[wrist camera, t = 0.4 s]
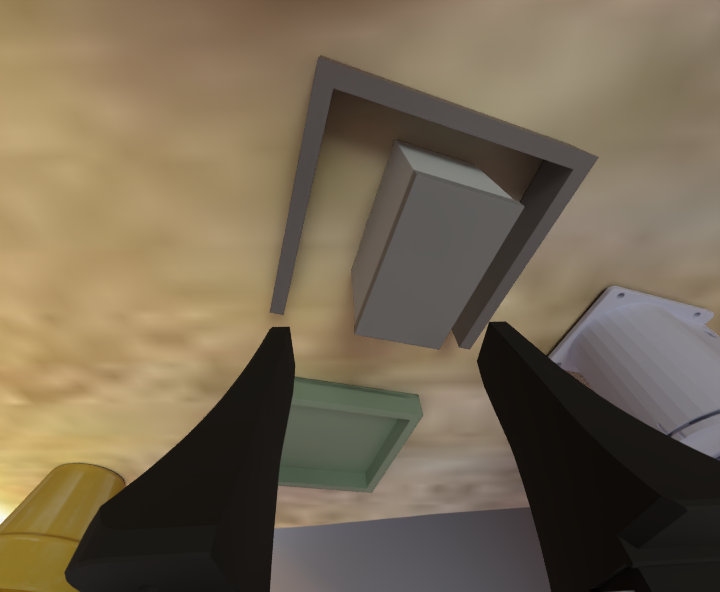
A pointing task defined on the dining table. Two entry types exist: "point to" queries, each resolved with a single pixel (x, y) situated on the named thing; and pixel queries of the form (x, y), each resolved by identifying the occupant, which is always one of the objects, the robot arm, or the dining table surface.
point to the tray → (344, 435)
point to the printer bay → (550, 182)
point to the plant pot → (52, 527)
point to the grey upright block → (426, 245)
